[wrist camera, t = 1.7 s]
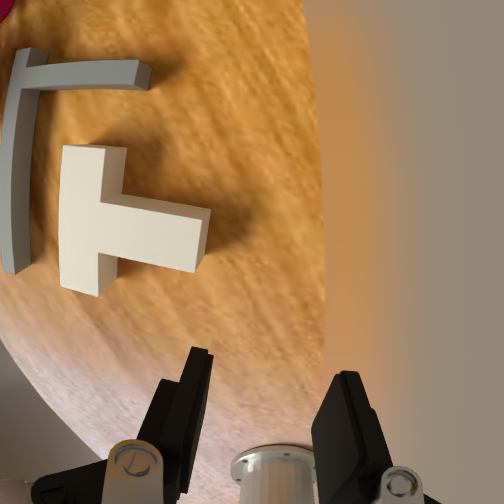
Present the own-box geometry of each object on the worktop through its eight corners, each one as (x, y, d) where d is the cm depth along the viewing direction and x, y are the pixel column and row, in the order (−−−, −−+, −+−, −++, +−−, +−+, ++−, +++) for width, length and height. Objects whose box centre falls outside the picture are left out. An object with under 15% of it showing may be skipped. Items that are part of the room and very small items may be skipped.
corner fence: (126, 290, 28) (113, 304, 26) (19, 260, 28) (2, 270, 25) (157, 46, 21) (145, 36, 19) (35, 55, 21) (16, 50, 18)
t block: (198, 296, 28) (189, 319, 24) (82, 269, 28) (60, 286, 24) (219, 160, 24) (211, 162, 21) (88, 144, 24) (63, 145, 20)
